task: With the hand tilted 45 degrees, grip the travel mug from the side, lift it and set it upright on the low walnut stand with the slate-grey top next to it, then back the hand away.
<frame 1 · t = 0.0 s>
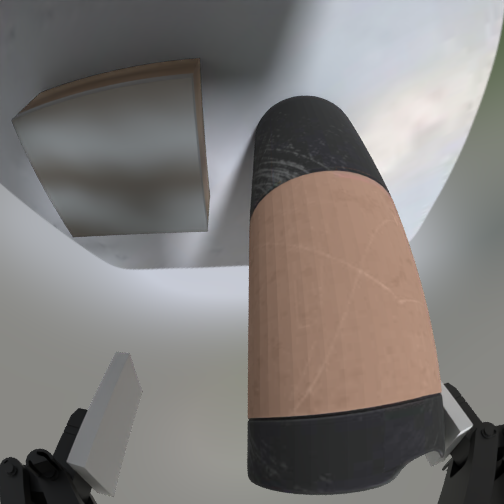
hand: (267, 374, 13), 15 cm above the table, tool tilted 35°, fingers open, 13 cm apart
walnut stand: (126, 142, 18), on the table
travel mug: (304, 136, 19), on the table, touching gripper
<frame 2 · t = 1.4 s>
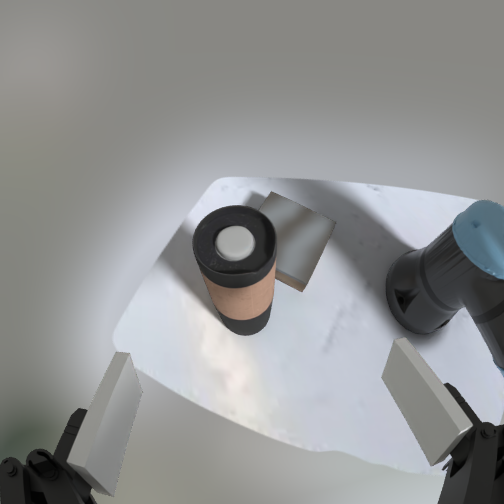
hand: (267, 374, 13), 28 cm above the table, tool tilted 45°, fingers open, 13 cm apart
walnut stand: (285, 245, 47), on the table
travel mug: (245, 313, 42), on the table
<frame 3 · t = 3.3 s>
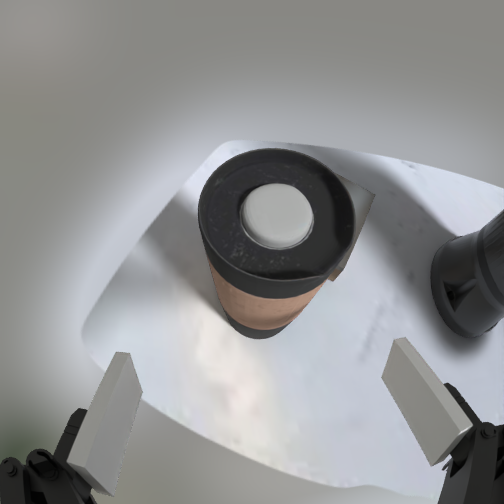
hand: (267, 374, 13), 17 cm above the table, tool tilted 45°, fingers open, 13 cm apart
walnut stand: (310, 221, 36), on the table
travel mug: (258, 308, 31), on the table
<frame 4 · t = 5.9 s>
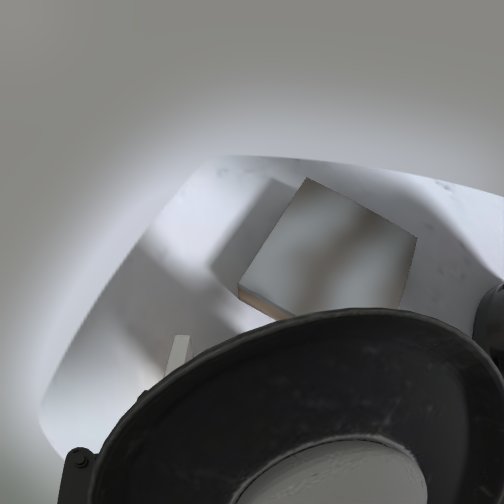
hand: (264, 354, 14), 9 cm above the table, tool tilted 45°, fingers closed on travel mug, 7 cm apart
walnut stand: (328, 276, 25), on the table
travel mug: (256, 406, 20), on the table, touching gripper
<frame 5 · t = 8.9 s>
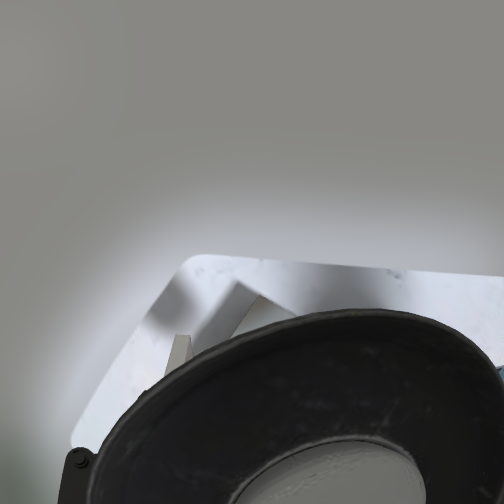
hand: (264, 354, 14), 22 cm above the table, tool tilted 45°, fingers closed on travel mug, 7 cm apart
walnut stand: (271, 363, 34), on the table
travel mug: (256, 407, 20), point 14 cm above the table, touching gripper
when the fingers open (14 cm above the table, at t = 11.7 s): travel mug drops 1 cm, resting on walnut stand.
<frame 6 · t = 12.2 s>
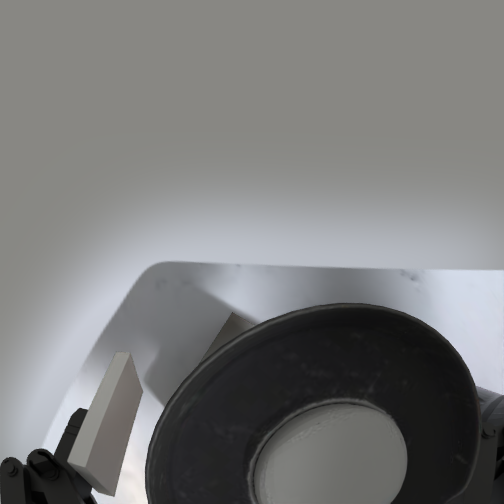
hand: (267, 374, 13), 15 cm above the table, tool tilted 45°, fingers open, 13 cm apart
walnut stand: (254, 400, 25), on the table
travel mug: (260, 405, 22), point 4 cm above the table, touching walnut stand
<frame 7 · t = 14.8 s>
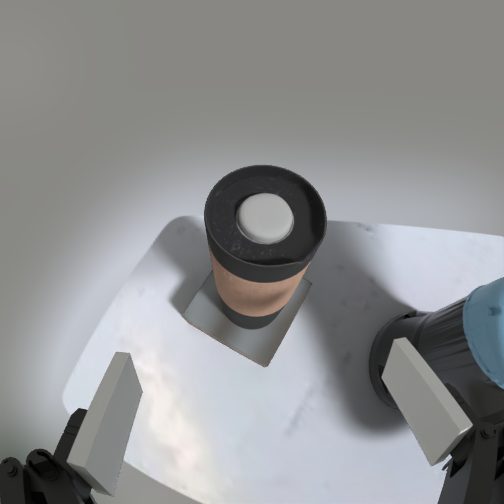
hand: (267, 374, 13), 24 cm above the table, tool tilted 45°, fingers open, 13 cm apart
walnut stand: (247, 308, 38), on the table
travel mug: (251, 302, 35), point 4 cm above the table, touching walnut stand
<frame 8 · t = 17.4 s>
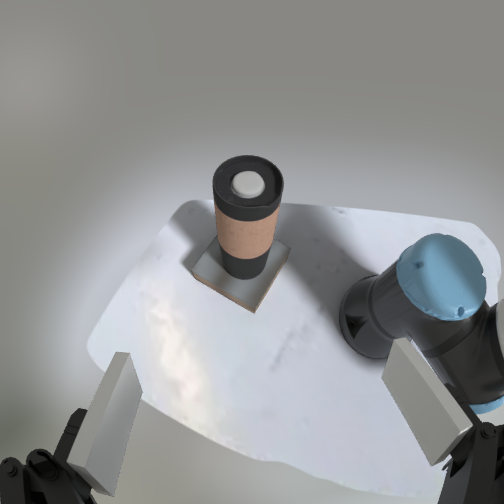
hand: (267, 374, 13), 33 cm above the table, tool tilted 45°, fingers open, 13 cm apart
walnut stand: (242, 268, 50), on the table
travel mug: (244, 260, 47), point 4 cm above the table, touching walnut stand
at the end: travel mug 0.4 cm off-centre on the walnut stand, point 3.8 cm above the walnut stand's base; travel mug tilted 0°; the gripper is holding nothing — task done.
